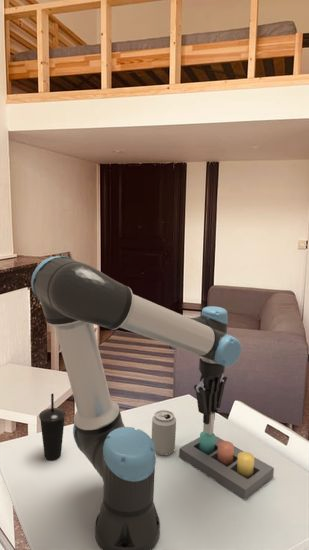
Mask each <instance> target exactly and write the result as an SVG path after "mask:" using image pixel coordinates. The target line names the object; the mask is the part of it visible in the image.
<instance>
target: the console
mask: <svg viewBox="0 0 309 550" xmlns="http://www.w3.org/2000/svg"><path fill="white" fill-rule="evenodd" d="M221 441H225V440H224V439H223V438H220V437H219V436H217V435H215V446H214V452H213V453H211V454H205V453H203V452H202V451H200V450H199V443H200V436H199V437H197V438H195V439H193V440H191V441H190V442H188V443H186V444H185V445H183V446H181V447H179V450H178V451H179V452H178V458H180V459H181V460H182V461H184V462H186V463H187V464H188V465H190V466H192V467H193V466H194V467H193V468H195V469H196V468H197V469H196V470H198V471H199V470H200V471H199V472H201V473H202V474H204V475H205V474H206V476H207V477H209V478H210V479H212V480H213V481H215V482H216V483H218V484H219V485H221V486H223V488H225V489H227V490H229V491H230V492H232V493H233V494H235V495H236V496H238V498H241V499H242V500H243V501H246V500H247V499H248V498H249V497H250V496H252V495H253V494H254V493H255V492H257V491H258V490H260V488H262V487H263V486H264V485H266V483H268V482H269V481H271V480H272V479H274V474H275V473H274V471H275V467H273V466H271V465H269V463H266V462H264V461H262V460H260V459H259V458H257V457H256V456H254V470H253V476H252V477H250V478H245V477H243V476H241V475H240V474H238V473H237V459H238V453H240V452H245V451H244V450H243V449H240V448H239V447H236V446H235V445H234V452H233V463H232V464H231V465H229V466H225V465H223V464H222V463H220V462H218V461H217V453H218V443H219V442H221Z"/></svg>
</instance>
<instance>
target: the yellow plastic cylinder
mask: <svg viewBox="0 0 309 550" xmlns="http://www.w3.org/2000/svg"><path fill="white" fill-rule="evenodd" d="M254 457H255V456H254V454H252V453H251V452H249V451H244V452H240V453H238V459H237V473H238V474H240V475H241V476H243V477H245V478H250V477H252V476H253V470H254Z"/></svg>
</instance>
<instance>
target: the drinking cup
mask: <svg viewBox="0 0 309 550" xmlns="http://www.w3.org/2000/svg"><path fill="white" fill-rule="evenodd" d="M54 394H55V393H51V394H50V397H51V398H50V403H51V404H50V407H49V408H46V409H44V410H42V411H41V412H40V413H39V415H38V418H39V420H40V429H41V435H42V436H41V437H42V445H43V454H44V455H43V456H44V459H45V460H46V461H54V462H55V461H56V460H59V459H60V458H61V456H62V450H63V449H62V448H63V447H62V446H63V435H64V425H65V418H66V415H67V414H66V410H64V408H61V407H60V408H59V407H55V405H54V404H55V403H54V398H55V397H54Z"/></svg>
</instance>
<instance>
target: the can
mask: <svg viewBox="0 0 309 550" xmlns="http://www.w3.org/2000/svg"><path fill="white" fill-rule="evenodd" d="M176 430H177V418H176V416H175V414H174V412H172V411H171V410H167V409H161V410H157V411H156V412H154V414H153V417H152V421H151V439H152V441H153V443H154V446H155V452H156V453H155V454H157V455H159V454H160V455H161V456H167V455H166V454H168V455H170V454H171V453H173V452H174V451H175V449H176V432H177V431H176ZM169 453H170V454H169Z"/></svg>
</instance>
